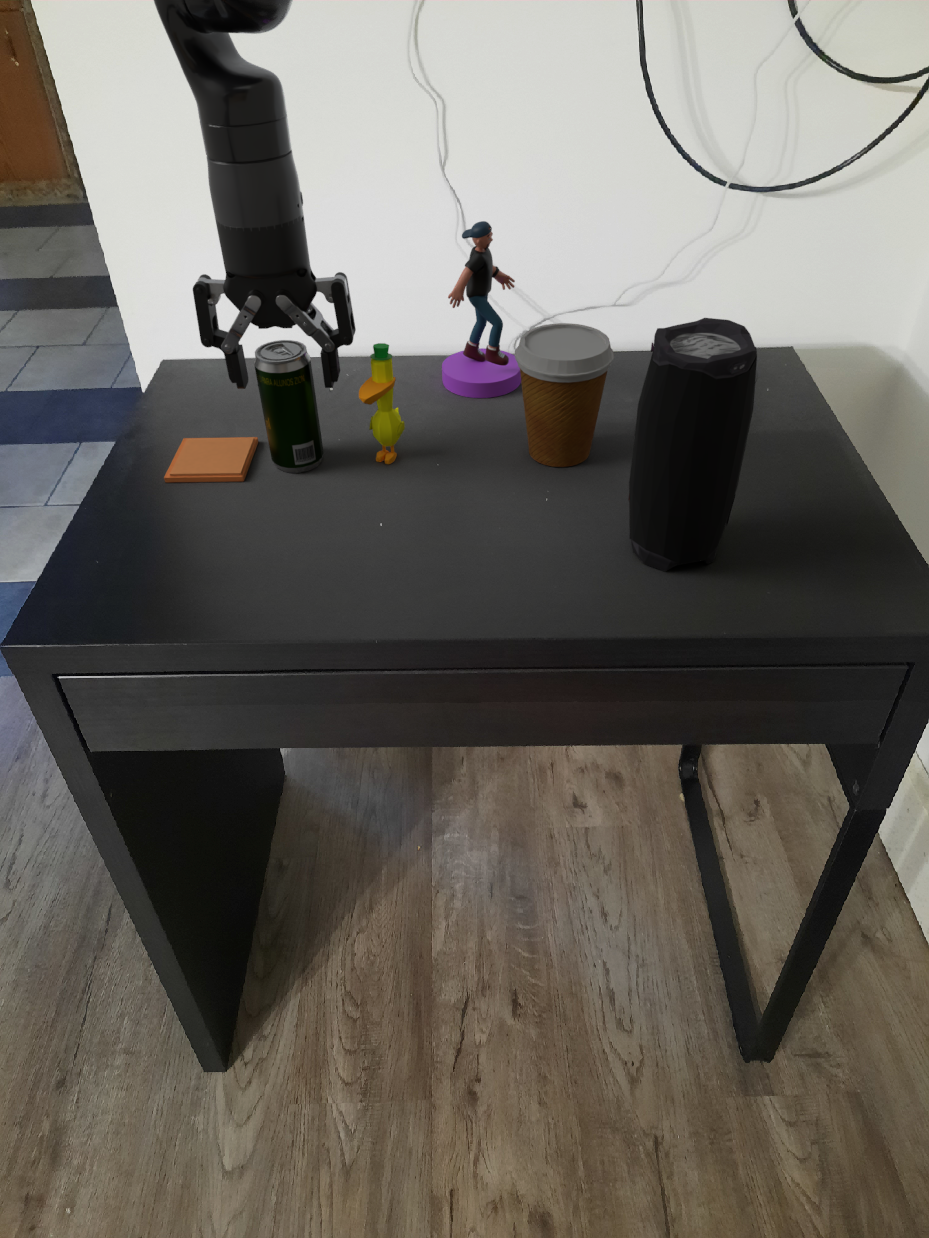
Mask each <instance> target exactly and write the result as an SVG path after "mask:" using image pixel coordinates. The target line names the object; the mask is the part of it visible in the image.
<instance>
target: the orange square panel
mask: <svg viewBox="0 0 929 1238" xmlns="http://www.w3.org/2000/svg"><path fill="white" fill-rule="evenodd" d="M258 444H259V437H257V436H249V437H248V436H242V437H241V436H239V437H234V436H233V437H183V439H182V441H181V443H180V445H179V446H178V449H177V450H176V453H175V454H174V457H173V458H172V460H171V463H170V465H169V467H168V469H167V470H166V472H165V475H164V477H163V479H164V483H223V482H224V483H226V482H228V483H229V482H230V483H232V482H244V481H245V479H246V477H247V474H248V471H249V470H250V469H249V468H250V466H251V463H252V460H253V458H254V455H255V453H256V449H257V447H258Z"/></svg>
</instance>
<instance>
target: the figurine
mask: <svg viewBox="0 0 929 1238" xmlns="http://www.w3.org/2000/svg"><path fill="white" fill-rule="evenodd" d="M492 229H493V227H492V225H491V224H490V223H489V222H488V221H485V220H483V221H478V222H475V223H474V224H473V225H472V226H471V228H468V229H466V230H464V231H463V232H462V233H461V238H462V239H464V240H465V239H470V238H471V239H472V242H473V244H474V245H475V246H473V247H472V248H471V251H470V253H469V258H468V260H467V261H466V262H465V264H464V268H463V270H462V271H461V274H460V275H459V277H458V279H457V282H456V284H455V285H454V287H453V289H452V291H451V292H450V293H449V294H448V297H447V298H448V299H449V300H450V301H449V305H452V307H451V308H452V309H455V308H459V306H460V305H461V302H465V294H466V297H467V298H468V301H469V303H470V304H471V305H472V307H473V308H474V311H475V312H474V313H475V317H476V318H475V319H476V321H475V323H474V325H473V328H472V330H471V333H470V335H469V339H468V340H467V341H466V343H465V347H464V349H463V350H460V351H457V352H455V353H453V354H451V355H449V356H447V357H446V358H445V359H444V360H443V361H442V364H441V376H442V377H441V378H442V381H441V382H442V385H443V387H444V388H445V389H446V390H448V391H449V392H451V393H452V394H455V395H458V396H461V397H464V398H471V399H472V398H473V399H490V398H497V397H501V396H504V395H507V394H509V393H512V392H513V391H515V390H516V389H518V388H519V387H520V385H521V384H522V383H521V374H520V368H519V367H518V363H517V361H516V359H515V354H513V353H510V352H509V351H506V350H501V349H500V348H501V345H500V342H501V337H502V333H503V328H504V322H503V320H502V318H501V316H500V315H499V313H497V311H496V310H495V308H494V307H493V306H492V305H491V304H490V302H489V300H488V298H489V294H490V293H491V291H492V285H493V279H494V280H495V281H496V282H498V283H499V284H500V285H501V287H502V288H501V289H502V291H505V290H506V287H507V289H508V290H511V289H515V286H516V285H514V284H513V283H515V282H516V280H515V279H514V278H513V277H511V276H510V275H508V274H506V273H505V272H503V271H501V270H500V268H499V267H498V266H495V265H494V262H493V255H492V251H491V250H490V248H489V247H490V245H491V244H492V242H493V241H494V239H493V237H492V236H493V235H494V234H493V231H492ZM487 323H489V324H490V325H491V326H492V327H491V328H490V331H489V336H488V342H487V343H488V344H487V345H486V347H482V348H480V344H481V338H482V337H483V332H484V331H485V328H486V327H487Z"/></svg>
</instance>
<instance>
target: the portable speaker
mask: <svg viewBox="0 0 929 1238" xmlns="http://www.w3.org/2000/svg"><path fill="white" fill-rule="evenodd" d="M653 337H654V338H653V342H651V345H650V353H651V356H650V359H649V362H648V367H647V371H646V375H645V378H644V381H643V385H642V389H641V392H640V396H639V400H638V403H637V410H636V418H635V419H636V420H635V427H634V428H635V429H634V436H633V444H632V445H633V446H632V455H631V462H630V463H631V465H630V472H629V480H628V500H627V501H628V503H629V504H628V505H629V507H628V508H629V509H628V510H629V512H628V516H629V519H628V520H629V523H628V524H629V539H630V542H631V550H632V553H633V555H634V556H636V558H637V559H639V561H640V562H641V563H642V564H643V565H645V566H648V567H652V568H654V569H657V570H660V571H663V572H667V571H669V570H671V569H672V568H674V567H677V566H681V565H687V564H693V563H698V562H704V563H705V564H706V565H708V564H711V563H713V562H715V559H716V556H717V552H718V549H719V546H720V542H721V541H722V539H723V536H724V532H725V530H726V527H727V525H728V524H729V520H730V516H731V512H732V510H733V505H734V502H735V499H736V493H737V490H738V485H739V481H740V476H741V470H742V467H743V462H744V457H745V451H746V447H747V441H748V437H749V432H750V427H751V422H752V418H753V413H754V407H755V393H756V377H757V364H758V363H757V362H758V350H757V347H756V346H755V343H754V340H753V338H752V336H751V333H750V332H749V330H748V329H747V328H746V326H745V325H742V324H740V323H737V322H735V321H733V320H730V319H724V318H723V319H722V318H712V317H703V318H701V319H698V320H695V321H688V322H685V323H679V324H676V325H671V326H667V327H657V328H656V331H655V333H654V335H653Z"/></svg>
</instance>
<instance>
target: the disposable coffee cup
mask: <svg viewBox="0 0 929 1238" xmlns="http://www.w3.org/2000/svg"><path fill="white" fill-rule="evenodd" d="M514 355H515V359H516V361H517V363H518V367H519V368H520V374H521V383H520V384H521V392H522V401H523V409H524V419H525V425H526V426H525V427H526V436H527V445H528V454H529V456H530V458H531V459H533V460H534V461H535V462H537V463H538V464H541V465H545V466H547V467H552V468H553V467H556V468H566V467H567V468H568V467H573V466H577V465H579V464H581V463H583V462H585V461H586V460H587V459H588V458H589V456H590V453H591V449H592V445H593V440H594V435H595V431H596V426H597V421H598V417H599V412H600V407H601V403H602V398H603V393H604V388H605V384H606V380H607V375H608V370H609V369H610V367H611V365H612V363H613V362H614V358H615V352H614V350H613V349H612V347H611V341H610V338H609V336H608V335H607V334H606V333H604V332H603V331H601V330H600V329H598V328H595V327H592V326H589V325H585V324H579V323H568V322H560V323H558V322H557V323H549V324H543V325H539V326H536V327H533V328H530V329H529V330H526V331H525V332H524V333H523V334H522V335H521V337H520V339H519V343H518V346H517V347H516V348H515V350H514Z"/></svg>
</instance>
